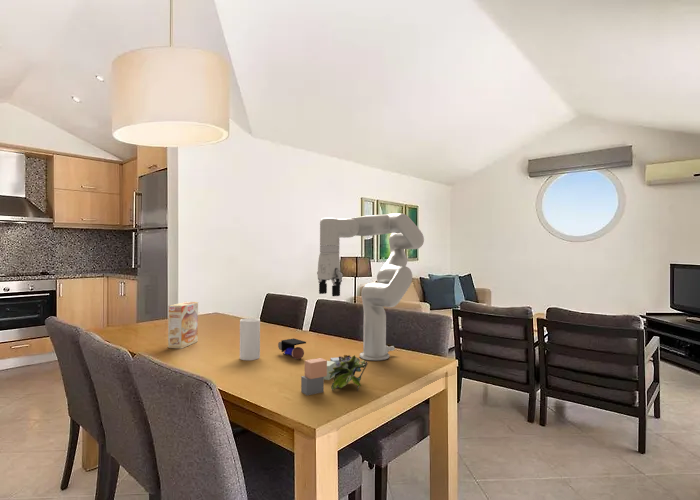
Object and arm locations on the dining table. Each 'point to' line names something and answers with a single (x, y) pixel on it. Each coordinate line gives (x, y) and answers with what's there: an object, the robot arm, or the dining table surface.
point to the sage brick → (329, 369)
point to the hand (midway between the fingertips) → (329, 294)
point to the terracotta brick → (315, 368)
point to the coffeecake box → (182, 324)
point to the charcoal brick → (312, 385)
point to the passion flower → (347, 371)
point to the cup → (249, 339)
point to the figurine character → (292, 347)
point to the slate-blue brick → (335, 360)
